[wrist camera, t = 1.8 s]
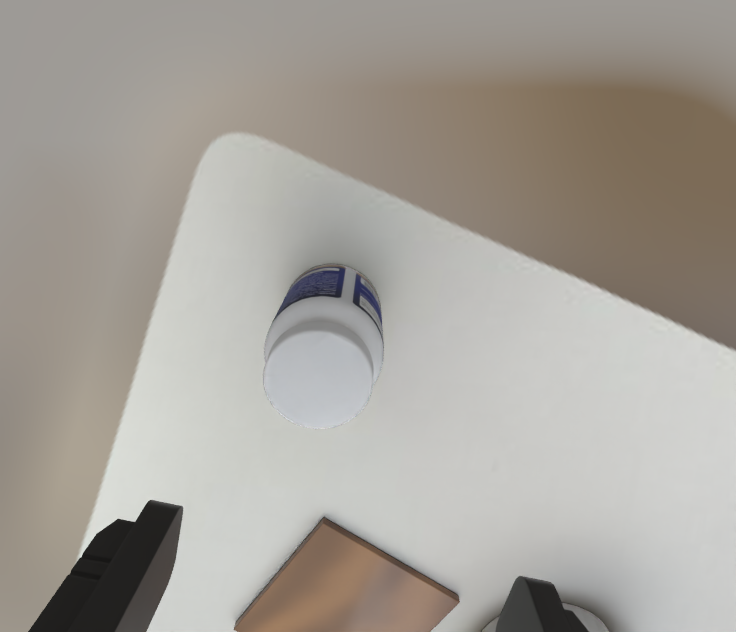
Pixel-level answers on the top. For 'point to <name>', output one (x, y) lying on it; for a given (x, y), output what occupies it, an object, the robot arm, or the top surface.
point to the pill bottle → (324, 348)
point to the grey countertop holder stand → (587, 618)
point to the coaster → (346, 591)
